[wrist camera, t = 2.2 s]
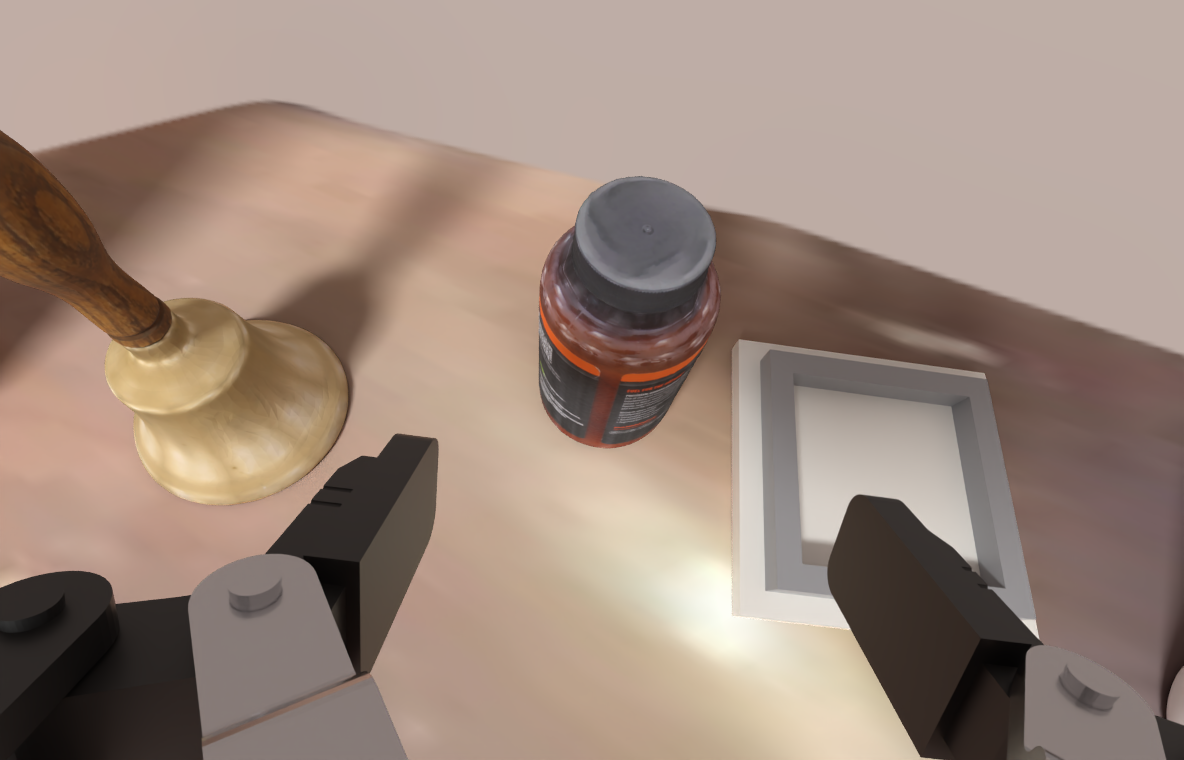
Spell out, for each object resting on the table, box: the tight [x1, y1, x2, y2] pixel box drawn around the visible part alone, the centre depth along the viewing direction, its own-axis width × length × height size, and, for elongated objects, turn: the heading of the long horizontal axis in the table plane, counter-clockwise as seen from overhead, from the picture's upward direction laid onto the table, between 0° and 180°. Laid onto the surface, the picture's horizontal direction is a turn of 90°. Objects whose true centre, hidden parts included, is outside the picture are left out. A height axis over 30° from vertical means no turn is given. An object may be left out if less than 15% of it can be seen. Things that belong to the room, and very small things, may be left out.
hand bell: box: [0, 130, 348, 505], centre depth 17 cm, size 8×8×16 cm
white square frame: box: [732, 339, 1039, 639], centre depth 24 cm, size 12×12×2 cm
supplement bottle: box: [539, 176, 721, 448], centre depth 21 cm, size 6×6×11 cm
